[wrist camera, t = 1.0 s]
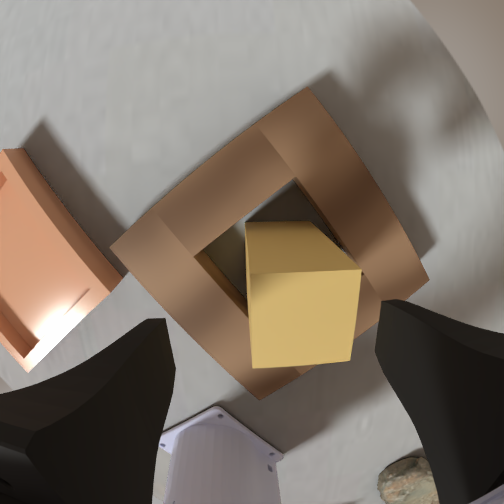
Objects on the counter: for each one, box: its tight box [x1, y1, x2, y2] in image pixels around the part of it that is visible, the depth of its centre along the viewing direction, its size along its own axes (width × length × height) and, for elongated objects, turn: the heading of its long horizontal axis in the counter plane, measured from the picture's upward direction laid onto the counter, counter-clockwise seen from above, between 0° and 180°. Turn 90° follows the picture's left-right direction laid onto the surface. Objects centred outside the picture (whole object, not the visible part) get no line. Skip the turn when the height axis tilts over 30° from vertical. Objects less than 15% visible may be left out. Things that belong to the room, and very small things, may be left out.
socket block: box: [109, 86, 429, 400], centre depth 19 cm, size 14×14×2 cm
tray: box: [0, 148, 123, 372], centre depth 18 cm, size 12×12×2 cm
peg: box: [245, 221, 362, 368], centre depth 16 cm, size 4×4×9 cm
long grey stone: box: [377, 457, 439, 504], centre depth 31 cm, size 35×5×10 cm
